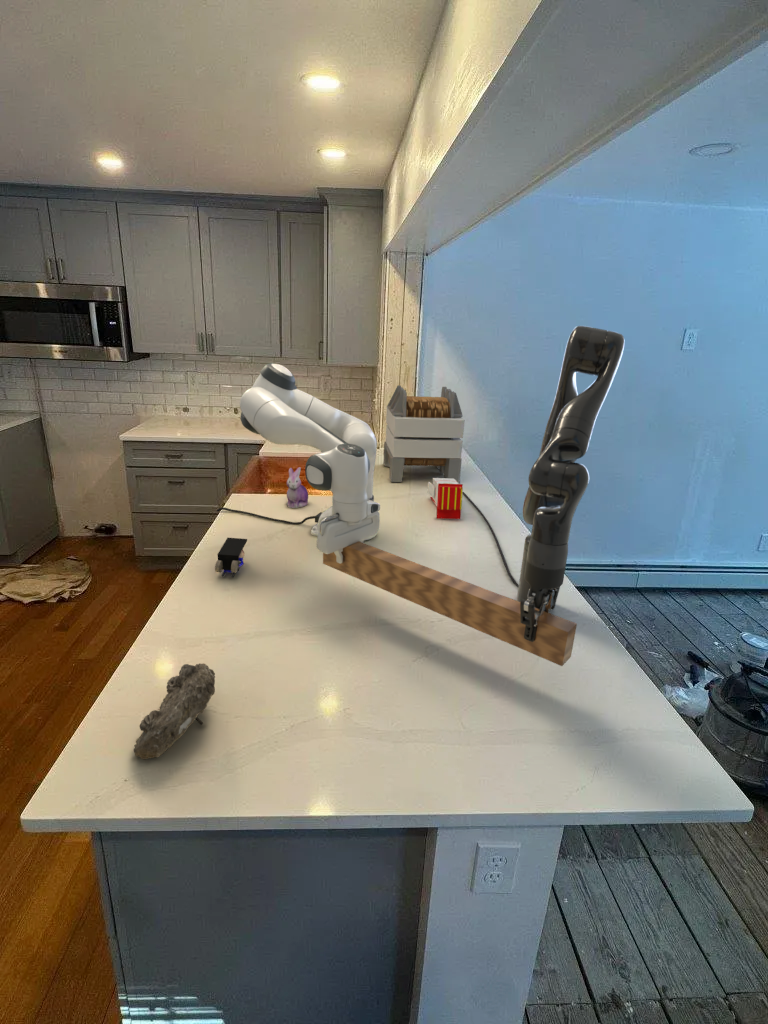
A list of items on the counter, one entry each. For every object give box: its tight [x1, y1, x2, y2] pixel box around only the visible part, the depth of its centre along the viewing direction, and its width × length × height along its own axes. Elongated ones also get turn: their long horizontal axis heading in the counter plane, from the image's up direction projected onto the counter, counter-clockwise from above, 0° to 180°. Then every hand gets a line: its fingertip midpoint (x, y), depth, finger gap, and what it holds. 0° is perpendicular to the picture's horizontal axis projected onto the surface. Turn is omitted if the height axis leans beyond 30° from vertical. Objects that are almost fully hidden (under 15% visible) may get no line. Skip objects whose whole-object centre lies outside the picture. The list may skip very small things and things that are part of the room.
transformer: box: [383, 384, 465, 484], centre depth 268 cm, size 34×33×41 cm
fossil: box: [133, 663, 216, 760], centre depth 105 cm, size 22×10×15 cm
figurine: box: [286, 466, 309, 509], centre depth 221 cm, size 9×10×15 cm
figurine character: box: [214, 537, 248, 578], centre depth 166 cm, size 7×8×15 cm
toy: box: [427, 477, 464, 520], centre depth 227 cm, size 12×13×30 cm
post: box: [322, 542, 578, 667], centre depth 132 cm, size 67×4×8 cm, turn 50°
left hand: (348, 558), depth 148 cm, fingers closed on post, 4 cm apart
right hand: (535, 634), depth 117 cm, fingers closed on post, 4 cm apart
